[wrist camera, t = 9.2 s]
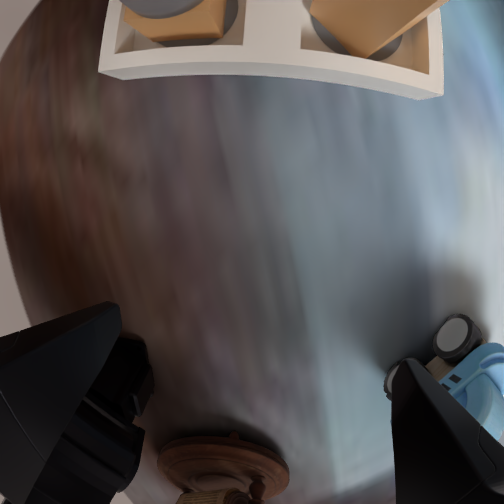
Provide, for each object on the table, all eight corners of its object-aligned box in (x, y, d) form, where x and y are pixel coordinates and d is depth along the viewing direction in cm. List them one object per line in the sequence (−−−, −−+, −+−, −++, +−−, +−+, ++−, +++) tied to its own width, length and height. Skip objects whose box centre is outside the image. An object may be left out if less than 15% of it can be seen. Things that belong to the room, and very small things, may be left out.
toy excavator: (323, 415, 27) (340, 581, 11) (462, 296, 22) (583, 442, 6) (374, 442, 28) (401, 575, 12) (495, 342, 23) (581, 463, 7)
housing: (123, 80, 18) (98, 71, 15) (139, -25, 15) (120, -44, 12) (418, 100, 17) (443, 95, 14) (415, -8, 14) (434, -26, 11)
